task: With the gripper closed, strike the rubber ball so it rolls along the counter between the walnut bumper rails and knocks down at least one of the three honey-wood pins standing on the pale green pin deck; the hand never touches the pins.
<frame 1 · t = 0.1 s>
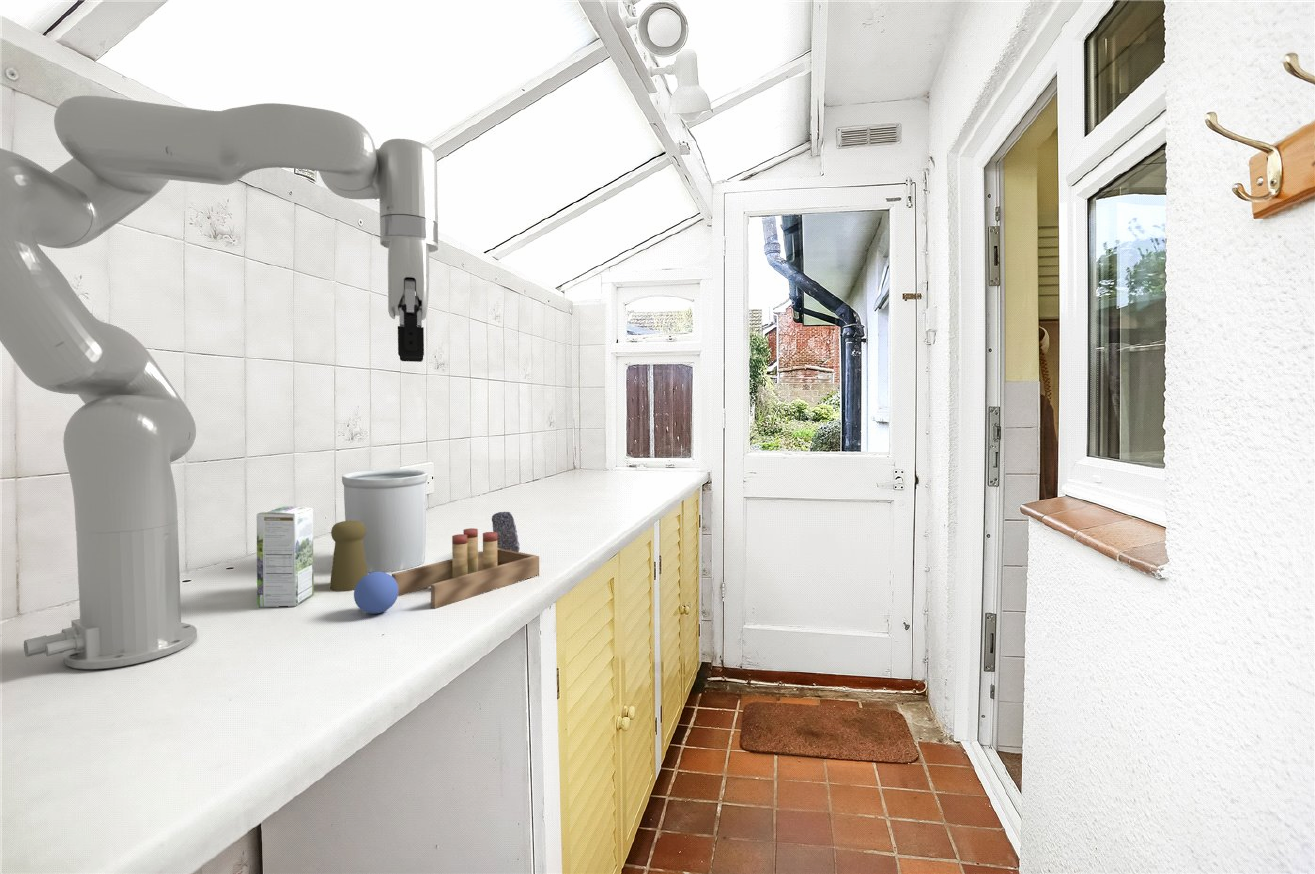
hand: (411, 359, 87), 37 cm above the worktop, tool pointing down, fingers open, 9 cm apart
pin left: (471, 579, 108), on the worktop
rock: (504, 559, 123), on the worktop
syrup box: (287, 603, 95), on the worktop
pin right: (490, 584, 105), on the worktop
utensil holder: (387, 564, 118), on the worktop
ball: (376, 592, 91), on the worktop
cork: (349, 587, 104), on the worktop
lane: (469, 584, 105), on the worktop
pin front: (460, 587, 103), on the worktop
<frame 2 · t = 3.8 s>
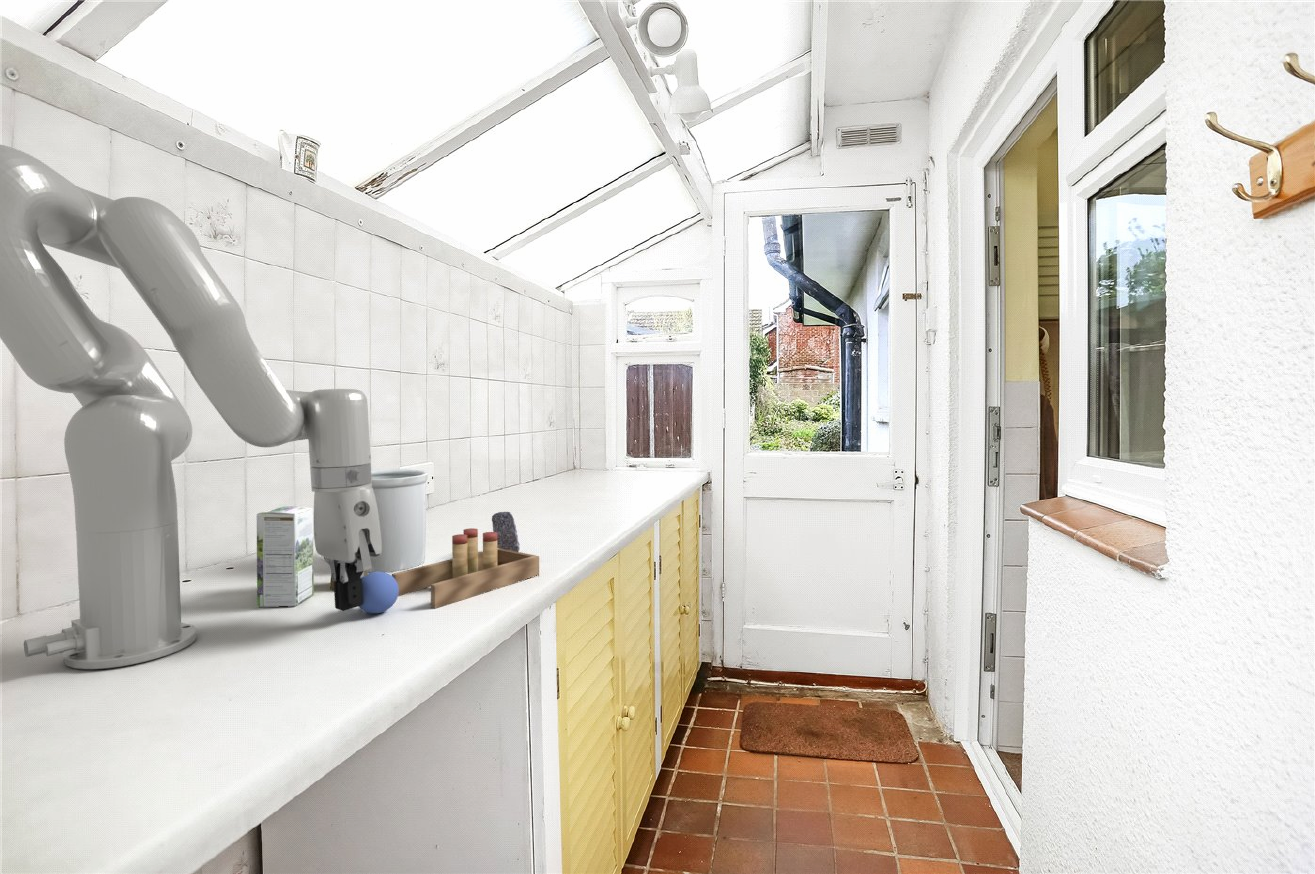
hand: (349, 607, 87), 2 cm above the worktop, tool pointing down, fingers closed
ball: (376, 592, 91), on the worktop, touching gripper
everything else where it was.
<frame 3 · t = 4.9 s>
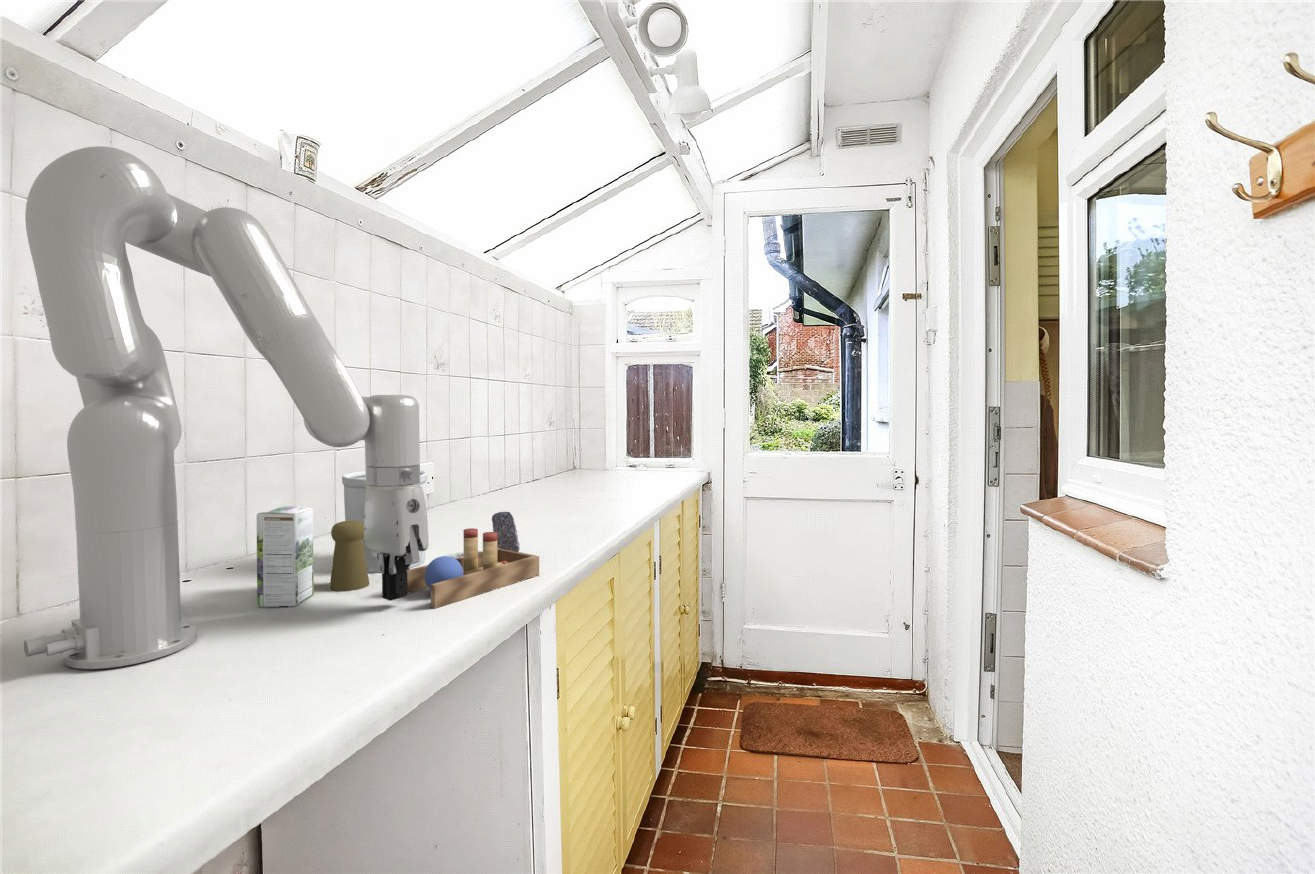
hand: (395, 597, 93), 2 cm above the worktop, tool pointing down, fingers closed
ball: (444, 574, 100), on the worktop
pin front: (466, 578, 104), point 1 cm above the worktop, tilted 90°
everything else where it was.
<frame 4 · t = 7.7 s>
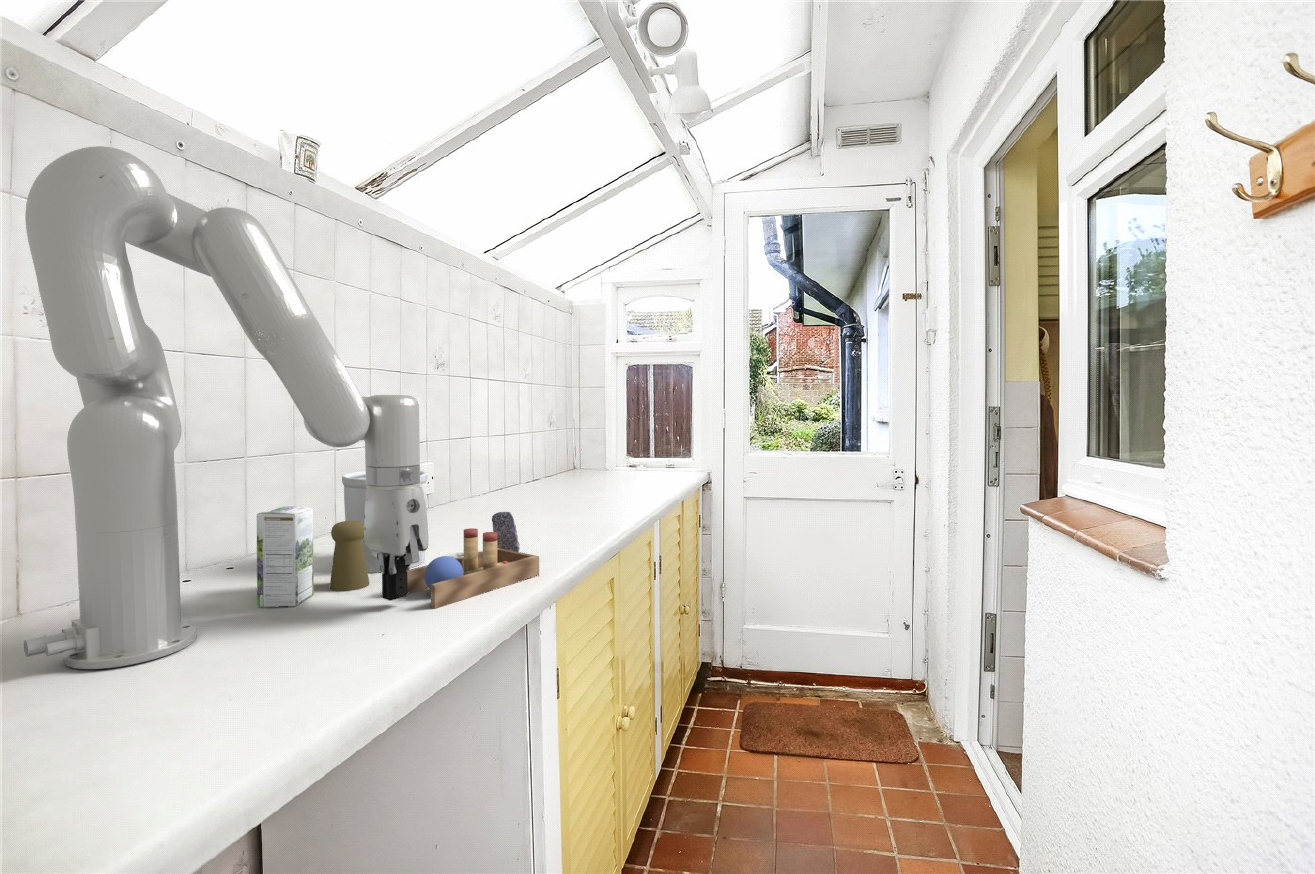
hand: (395, 597, 93), 2 cm above the worktop, tool pointing down, fingers closed
nothing on the worktop moved.
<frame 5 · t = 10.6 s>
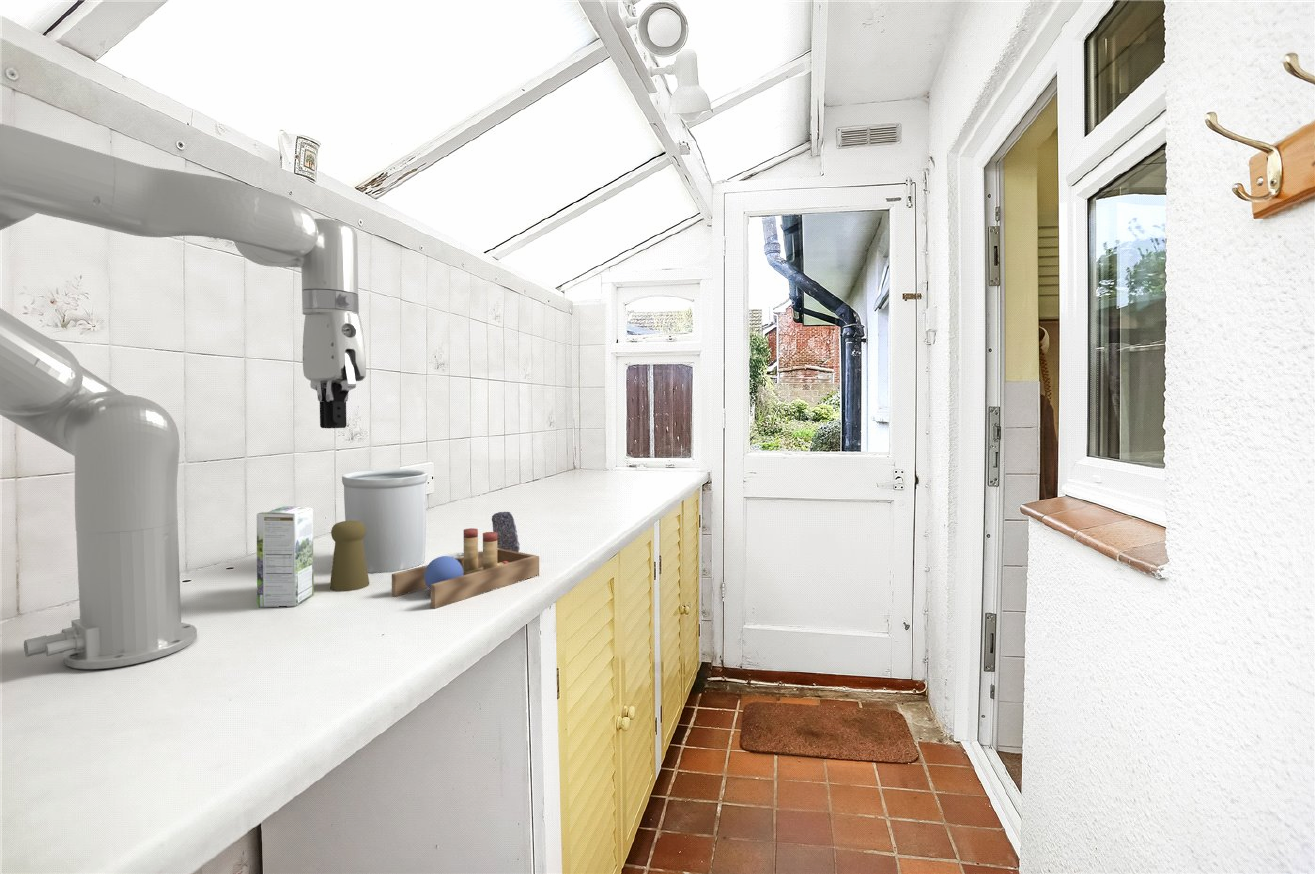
hand: (333, 427, 93), 27 cm above the worktop, tool pointing down, fingers closed
nothing on the worktop moved.
at the end: 1 of 3 knocked over (down: pin front; still standing: pin left, pin right); pin front never touched the robot; ball moved 11.7 cm from its start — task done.
